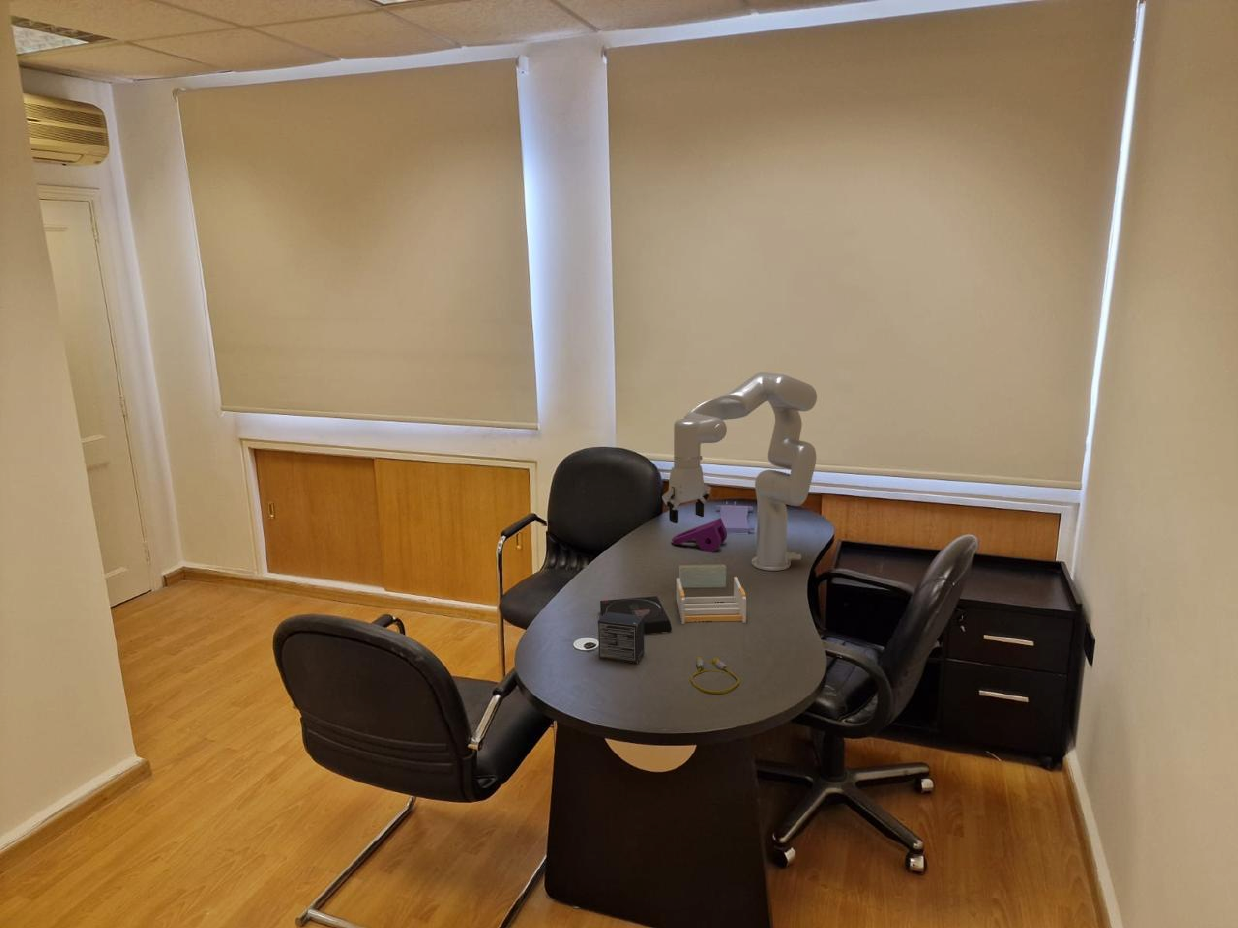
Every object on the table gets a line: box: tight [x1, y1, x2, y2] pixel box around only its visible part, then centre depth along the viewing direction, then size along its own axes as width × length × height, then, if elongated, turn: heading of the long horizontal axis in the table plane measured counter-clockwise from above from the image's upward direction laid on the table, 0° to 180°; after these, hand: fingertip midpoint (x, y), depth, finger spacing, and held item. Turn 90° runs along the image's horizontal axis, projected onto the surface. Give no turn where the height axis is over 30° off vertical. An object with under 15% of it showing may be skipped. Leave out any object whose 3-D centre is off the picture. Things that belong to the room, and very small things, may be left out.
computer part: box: [714, 501, 755, 534], centre depth 309 cm, size 30×4×15 cm
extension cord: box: [690, 656, 741, 695], centre depth 192 cm, size 12×16×2 cm
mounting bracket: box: [671, 517, 728, 553], centre depth 283 cm, size 10×8×18 cm
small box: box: [597, 612, 645, 665], centre depth 202 cm, size 11×6×10 cm, turn 71°
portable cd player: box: [599, 595, 673, 635], centre depth 222 cm, size 16×17×4 cm
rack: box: [676, 576, 747, 625], centre depth 228 cm, size 18×16×8 cm
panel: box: [678, 564, 727, 589], centre depth 247 cm, size 14×2×6 cm, turn 91°
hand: (686, 519), depth 235 cm, fingers open, 9 cm apart
